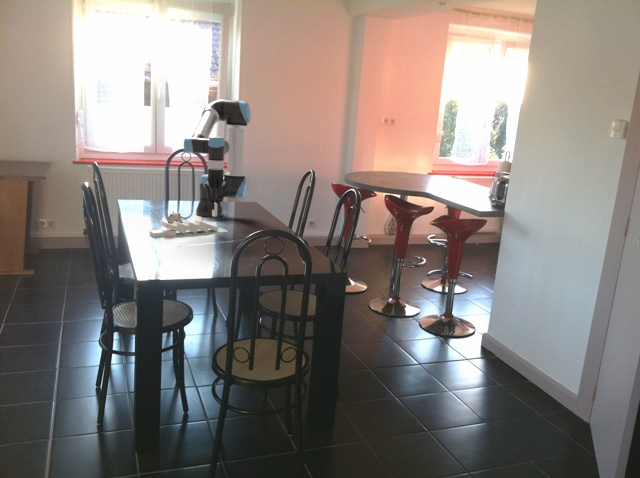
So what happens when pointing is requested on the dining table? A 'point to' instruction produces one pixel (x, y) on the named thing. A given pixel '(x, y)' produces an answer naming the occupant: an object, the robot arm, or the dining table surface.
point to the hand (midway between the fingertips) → (214, 216)
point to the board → (199, 232)
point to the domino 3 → (184, 227)
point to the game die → (174, 218)
